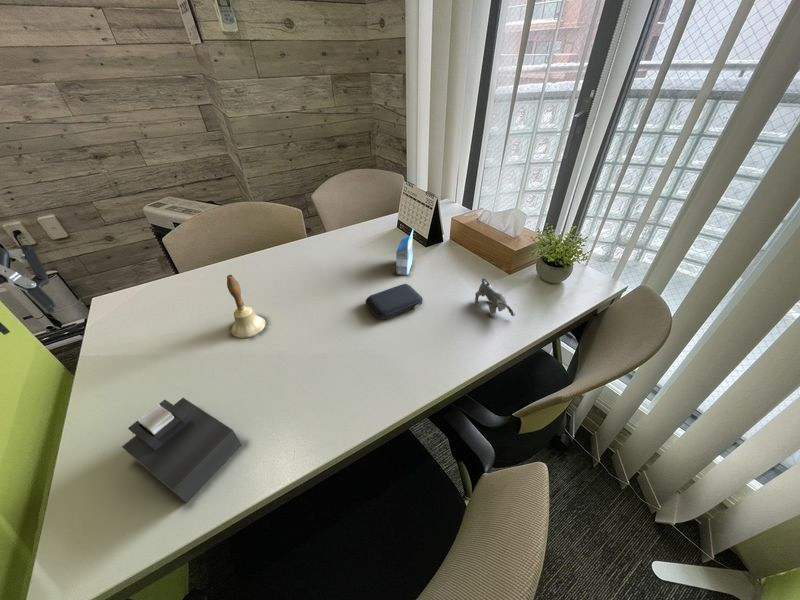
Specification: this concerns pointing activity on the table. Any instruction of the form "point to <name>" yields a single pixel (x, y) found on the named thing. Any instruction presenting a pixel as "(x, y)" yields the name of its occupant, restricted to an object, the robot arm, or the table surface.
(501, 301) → the dog figurine
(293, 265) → the table surface
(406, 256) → the blue white carton
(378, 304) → the carrying case
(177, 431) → the black square panel
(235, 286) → the hand bell
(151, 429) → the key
